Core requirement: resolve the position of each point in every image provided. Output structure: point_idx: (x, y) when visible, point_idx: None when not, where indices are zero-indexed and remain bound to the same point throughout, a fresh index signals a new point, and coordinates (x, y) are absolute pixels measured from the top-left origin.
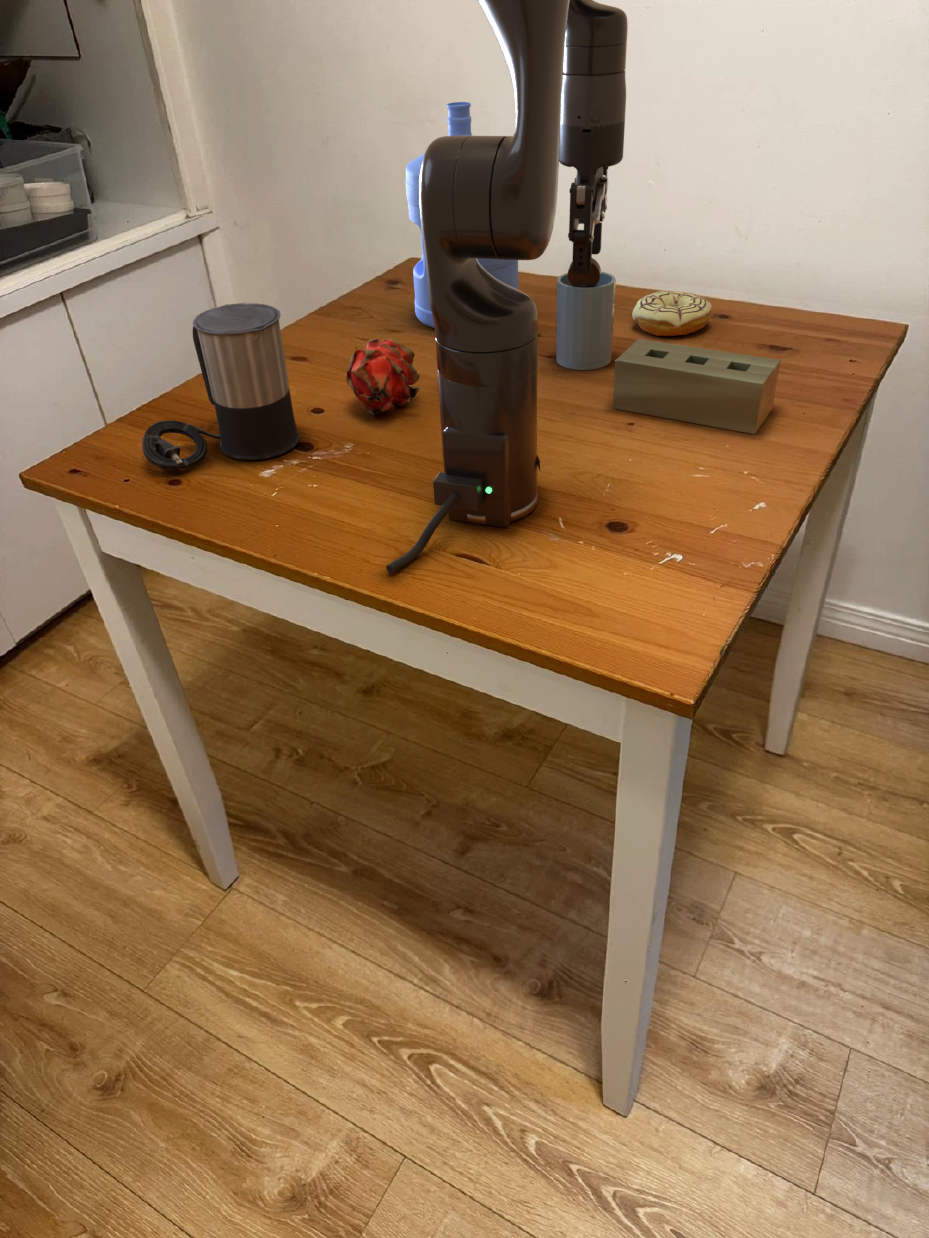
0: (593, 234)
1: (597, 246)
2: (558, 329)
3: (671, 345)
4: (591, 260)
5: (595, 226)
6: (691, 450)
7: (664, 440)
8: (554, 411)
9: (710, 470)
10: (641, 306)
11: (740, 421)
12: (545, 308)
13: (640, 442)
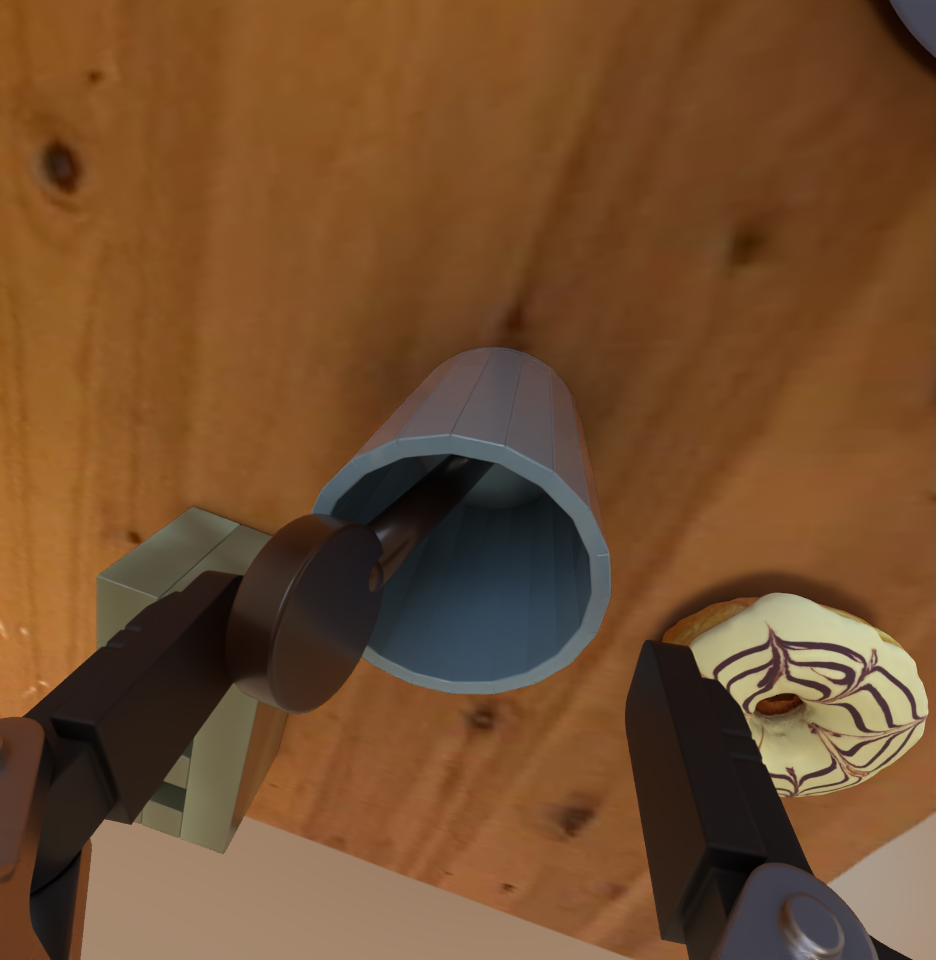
0: (657, 804)
1: (636, 743)
2: (430, 383)
3: (242, 705)
4: (216, 706)
5: (670, 885)
6: (76, 626)
7: (93, 590)
8: (133, 369)
9: (24, 642)
10: (777, 642)
11: None
12: None
13: (67, 551)
